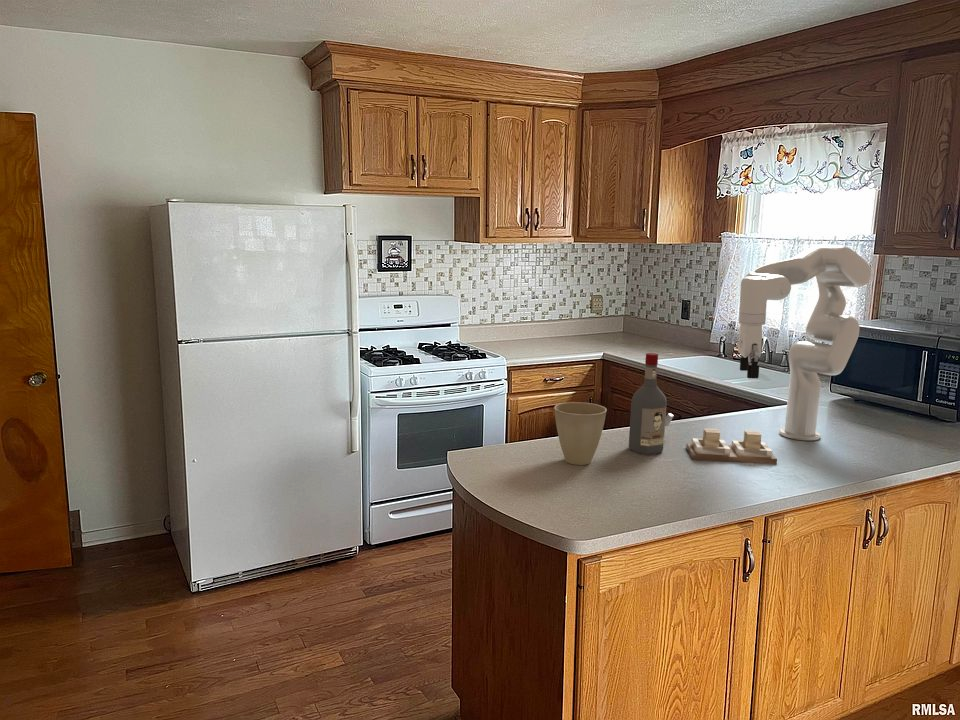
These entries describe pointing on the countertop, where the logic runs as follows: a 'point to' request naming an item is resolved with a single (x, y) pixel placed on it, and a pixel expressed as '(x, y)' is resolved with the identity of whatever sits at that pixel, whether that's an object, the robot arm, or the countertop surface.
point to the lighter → (668, 420)
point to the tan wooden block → (711, 437)
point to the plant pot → (579, 430)
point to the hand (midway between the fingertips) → (748, 374)
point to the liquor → (648, 413)
